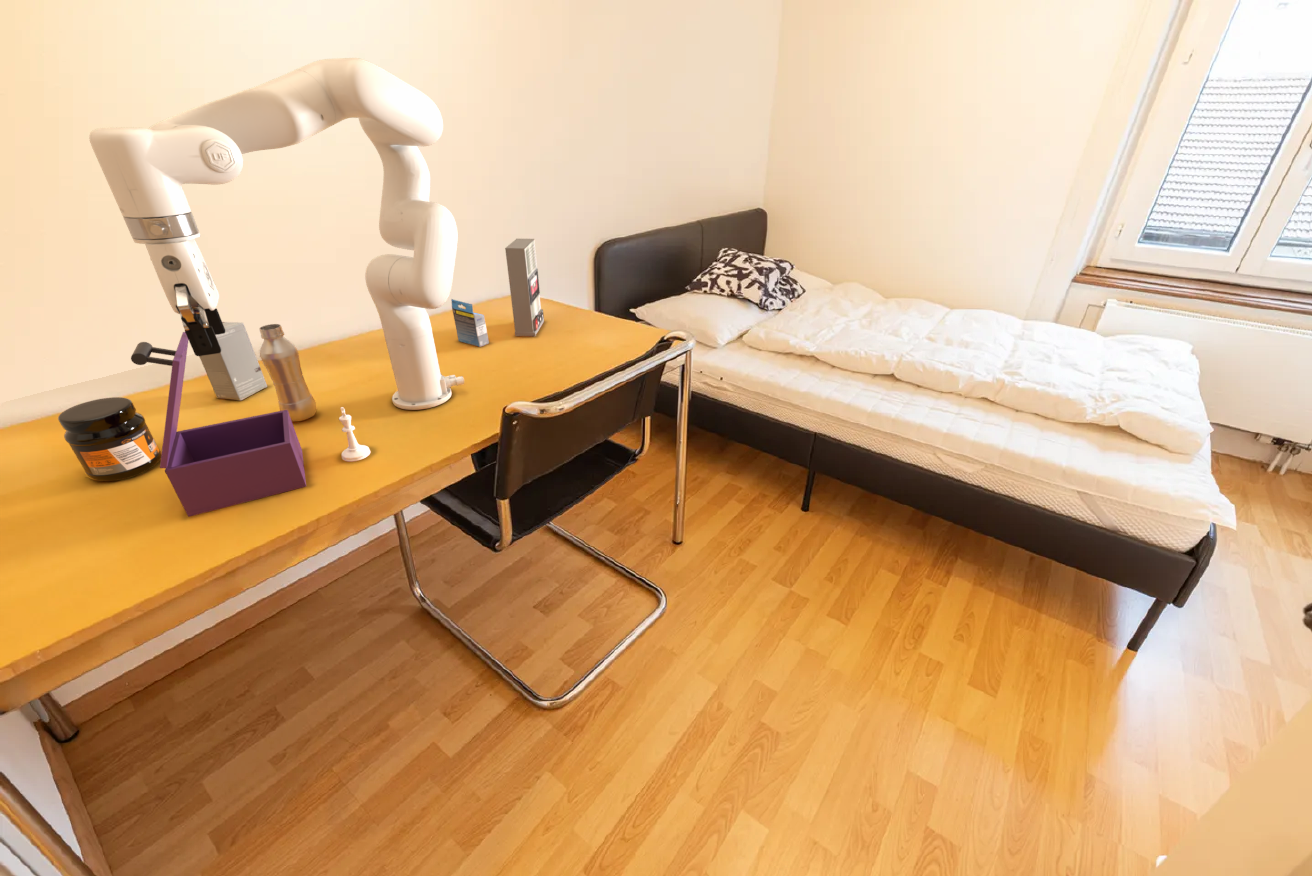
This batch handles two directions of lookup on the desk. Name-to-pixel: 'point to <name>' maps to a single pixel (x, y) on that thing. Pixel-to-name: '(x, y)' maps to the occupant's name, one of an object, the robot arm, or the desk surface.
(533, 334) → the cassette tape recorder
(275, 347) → the plastic bottle
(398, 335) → the robot arm
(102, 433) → the supplement container
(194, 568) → the desk surface
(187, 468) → the box
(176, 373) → the lid
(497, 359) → the desk surface
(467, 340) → the label tape box
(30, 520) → the desk surface
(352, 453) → the chess piece
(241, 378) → the cosmetic box
